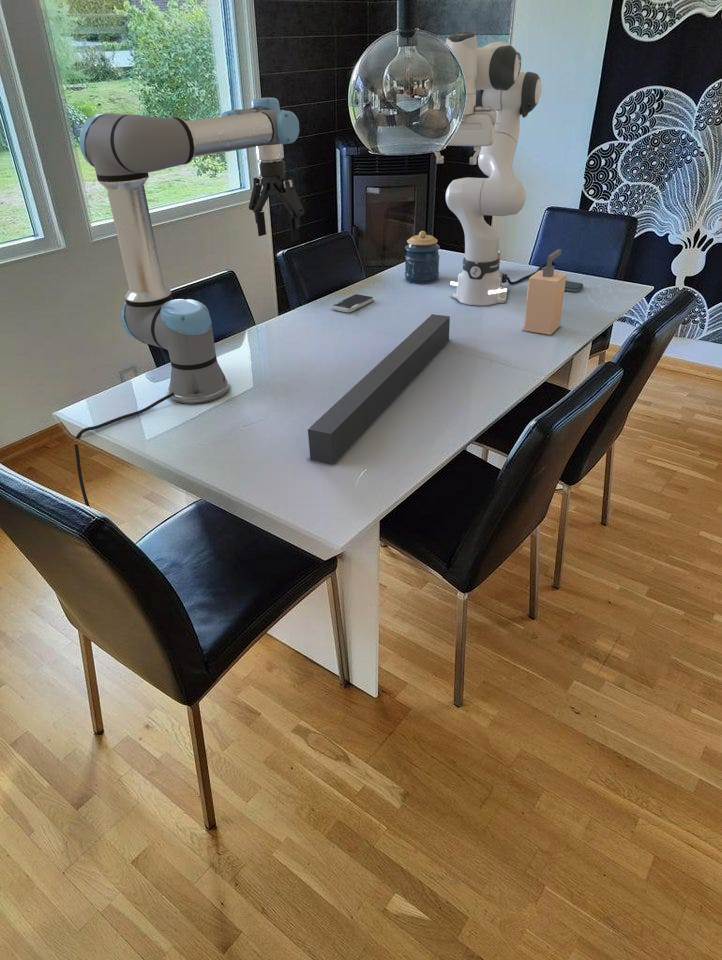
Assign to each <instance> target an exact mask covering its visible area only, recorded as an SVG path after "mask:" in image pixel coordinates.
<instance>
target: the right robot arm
mask: <svg viewBox="0 0 722 960" xmlns="http://www.w3.org/2000/svg"><path fill="white" fill-rule="evenodd" d="M446 44H447V45H448V46H449V47H450V48H451V49H452V51H453V52H454V54H455V55H456V57H457V59H458V60H459V62H460V64H461V67H462V69H463V72H464V75H465V81H466V89H467V100H466V106H465V111H464V114H463V118H462V121H461V124H460V126H459V128H458V130H457V132H456V133H455V135H454V137H453V138H452V139H451V141H450V142H449V144H448V145H447V146H448V147H451V146H452V147H453V146H454V147H473V151H475V152H474V154H473V156H470V157H469V162H468V163H469V165H471V166H473V165H477V164H478V168H479V169H480V170H481V172H482V173H483V175H485V176H487V177H461V178H457V179H453V180H452V181H451V182H450V183H449V184H448V186H447V188H446V191H445V203H446V205H447V208H448V209H449V210H450V211H451V212H452V213H453V214H454V215H455V217H457V219H458V221H459V222H460V224H461V227H462V230H463V233H464V235H463V236H464V257H463V259H462V271H461V272H459V273H458V276H457V282H456V281H450V285H451V286H456V291H455V292H454V293H452V296H451V297H452V298H453V299H456V300H457V301H458V302H460V303H461V304H464V305H469V306H490V305H494V304H504V303H506V301H507V296H508V291H509V288H508V286H504V285H503V284H506V283H508V285H516V284H519V283H521V282H523V281H525V280H527V279H529V278H530V277H531V276H532V275H534V274H535V273H536V272H538V271H542V270H543V268H544V267H545V266H547V262H544V263H543V264H541V265H540V266H539V267H538V269H537V270H536V271H534V272H532V273H530V274H527V275H525V276H522V277H521V278H520V279H517V280H514V281H512V280H511V278H510V277H509V276H508V274H507V273H502V272H501V271H500V265H499V260H500V261H501V255H498V250H499V247H500V235H499V233H498V231H497V230H496V229H495V228H494V227H492V225H490V224H488V223H487V221H486V220H485V218H484V216H491V217H492V216H493V217H508V216H514V215H517V214H519V213H520V212H521V211H522V209H523V207H524V206H525V203H526V198H527V193H526V189H525V187H524V185H523V184H522V182H521V181H520V180H518V179H517V178H516V176H515V174H514V171H513V165H514V158H515V154H516V151H517V146H518V142H519V138H520V137H519V136H520V129H521V128H520V127H521V120H520V119H521V118H523V119H524V118H526V117H527V116H528V115H529V113H531V112H532V111H533V110H534V109H535V108H536V107H537V105H538V103H539V100H540V98H541V95H542V82H541V77H540V76H539V74H538V73H536V72H532V71H527V72H524V71H521V69H522V55H521V53H520V52H519V51H517V49H516V48H515V47H514V46H513V45H512V44H510V43H509V42H506V41H492V42H490V43H488V44H486V45H485V46H483V47H478V40H477V35H476V34H475V33H473V32H468V31H467V32H466V31H465V32H458V33H452V34H450V35H449V36H447V38H446V41H445V45H446ZM433 153H434V155H435V157H436V164H439V165H440V164H444V162H445V161H444V159H445V157H444V155H442V154H441V152H440V150H439V151H438V152H434V151H433ZM552 266H556V263H555V262H554V260H552Z"/></svg>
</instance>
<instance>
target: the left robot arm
mask: <svg viewBox="0 0 722 960" xmlns="http://www.w3.org/2000/svg"><path fill="white" fill-rule="evenodd" d="M299 135H300V121H299V119H298V117H297V115H296V114H295V113H294V112H293V111H291V110H285V109H281V107H280V101H279V99H278V98H276V97H259V98H258V97H257V98H253V99H252V100H251V107H250V108H240V109H230V110H227V111H223V112H222V113H221V114H220V116H216V117H209V118H207V117H206V118H200V119H190V120H185V119H184V118H182V117H179V116H171V117H162V116H161V117H159V116H150V115H144V114H135V113H134V114H130V113H129V114H128V113H127V114H126V113H115V112H114V113H113V112H111V113H110V112H104V113H98V114H95V115H92V116H90V117H89V118H88V119H87V120H85V121H84V124H83V125H82V127H81V129H80V133H79V139H78V140H79V148H80V152H81V154H82V156H83V159H84V160H85V161H86V162H87V163H88V164H89V165H90V166H91V167H93V168H94V171H95V175H96V179H97V182H98V184H100V185H101V186H103V187H104V188H105V190H106V193H107V198H108V202H109V206H110V210H111V215H112V218H113V223H114V229H115V232H116V236H117V241H118V245H119V251H120V254H121V255H120V256H121V258H122V259H121V260H122V263H123V268H124V273H125V277H126V282H127V286H128V290H127V292H126V293H125V295H124V300H125V302H124V304H123V308H122V309H121V315H120V316H121V324H122V327H123V328H124V330H125V332H126V333H127V334H128V335H129V336H130V337H131V338H133V339H134V340H136V341H138V342H141V343H142V344H145V345H151V346H154V347H158V348H160V349H164V350H167V352H168V357H169V361H170V367H171V369H170V370H171V371H170V377H169V386H168V394H167V395H165V396H163V397H161V398H159V399H158V400H156V401H154V402H153V403H151V404H150V405H147V406H146V407H144V408H142V409H140V410H136V411H133V412H130V413H127V414H124V415H123V414H122V415H121V416H117V417H116V418H113V419H110V420H108V421H105V422H103V423H99V424H97V425H92V426H88V427H85V428H83V429H81V430H79V432H78V433H77V434H76V436H75V440H78V439H80V438H81V436H82V435H84V434H85V433H86V432H89V431H95V430H98V429H101V428H103V427H106V426H108V425H111V424H114V423H117V422H119V421H122V420H124V419H128V418H131V417H135V416H137V415H141V414H143V413H145V412H147V411H150V410H151V409H152V408H154V407H155V406H157V405H159V404H161V403H162V402H164V401H167V400H169V399H170V398H171V400H173V401H175V402H177V403H180V404H188V405H189V404H190V405H196V404H197V405H198V404H204V403H208V402H212V401H214V400H217V399H219V398H221V397H223V396H224V395H225V394H227V392H228V391H229V383H228V379H227V378H226V375H225V374H224V372H223V370H222V368H221V366H220V363H219V362H218V358H217V352H216V346H215V338H214V331H213V326H212V325H213V324H212V319H211V315H210V310H209V309H208V308H207V306H206V305H205V304H204V303H202V302H200V301H198V300H195V299H191V298H188V299H184V298H177V299H173V294H172V290H171V289H170V288H169V287H167V286H166V285H165V284H164V280H163V275H162V274H163V273H162V270H161V263H160V259H159V254H158V249H157V243H156V240H155V239H156V238H155V235H154V229H153V223H152V220H151V214H150V209H149V203H148V199H147V194H146V189H145V184H146V183H147V181H148V179H149V178H150V176H149V173H153V172H158V171H162V170H166V169H170V168H175V167H178V166H184V165H187V164H190V163H191V162H192V161H193V159H194V158H201V157H206V156H211V155H218V154H223V153H229V152H234V151H240V150H244V149H245V150H246V149H250V148H256V157H257V160H258V164H257V166H258V175H259V176H257V177H253V179H252V181H253V182H252V183H253V186H252V190H251V195H250V200H249V203H248V210H249V211H253V213H254V219H255V220H254V221H255V224H256V227H257V235H258V237H262V236H265V235H267V227H266V226H267V225H266V218H265V211H264V210H263V208H264V207H265V205H266V203H267V201H268V199H269V197H270V196H273V197H277V198H278V199H280V200H281V202H282V204H283V206H284V207H285V208H286V210H287V211H288V214H289V215H290V217H289V226H290V229H289V230H290V238H291V240H290V241H291V242H297V241H299V240H300V229H301V223H300V222H301V221H300V217H302V216H304V215H305V214H306V213H305V210H304V206H303V205H302V203H301V200H300V197H299V195H298V193H297V190H296V188H295V182H294V179H288V180H286V179H285V175H286V173H287V171H286V161H285V160H283V159H284V158H285V154H284V153H285V152H284V151H285V150H284V145H288V144H293V143H295V142H296V140H298V137H299ZM74 452H75V460H76V461H75V462H76V471H77V476H78V481H79V486H80V490H81V494H82V497H83V502H84V504H85V506H86V505H87V506H89V507H90V508H91V506H90V502H89V499H88V496H87V491H86V488H85V483H84V478H83V474H82V473H83V472H82V466H81V458H80V457H81V455H80V450H79V444H76V443H74Z"/></svg>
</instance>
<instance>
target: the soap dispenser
mask: <svg viewBox="0 0 722 960" xmlns="http://www.w3.org/2000/svg"><path fill="white" fill-rule="evenodd" d="M562 250H563V249H561V248H557V249H556V250H555V251H553V252H552V253H550V254H549V255H547V259H546V263H547V265H546V266H545V267H543V268H542V270H540V271H538V272H536V271H535V272H536V273H535V274H534V275H532V276H531V277H530V278H528V283H527V284H528V285H527V293H526V303H525V314H524V315H525V316H524V325H523V331H525V332H532V333H538V334H543V335H547V336H551V335H552V334H553V333H555V331H556V330H557V329H559V328H560V327H561V319H562V312H563V305H564V297H565V291H566V290H565V282H566V281H567V273H562V272H555V265H552V261H554V260H555V259H557V258H558V257H559V256H561V255H562Z"/></svg>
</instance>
